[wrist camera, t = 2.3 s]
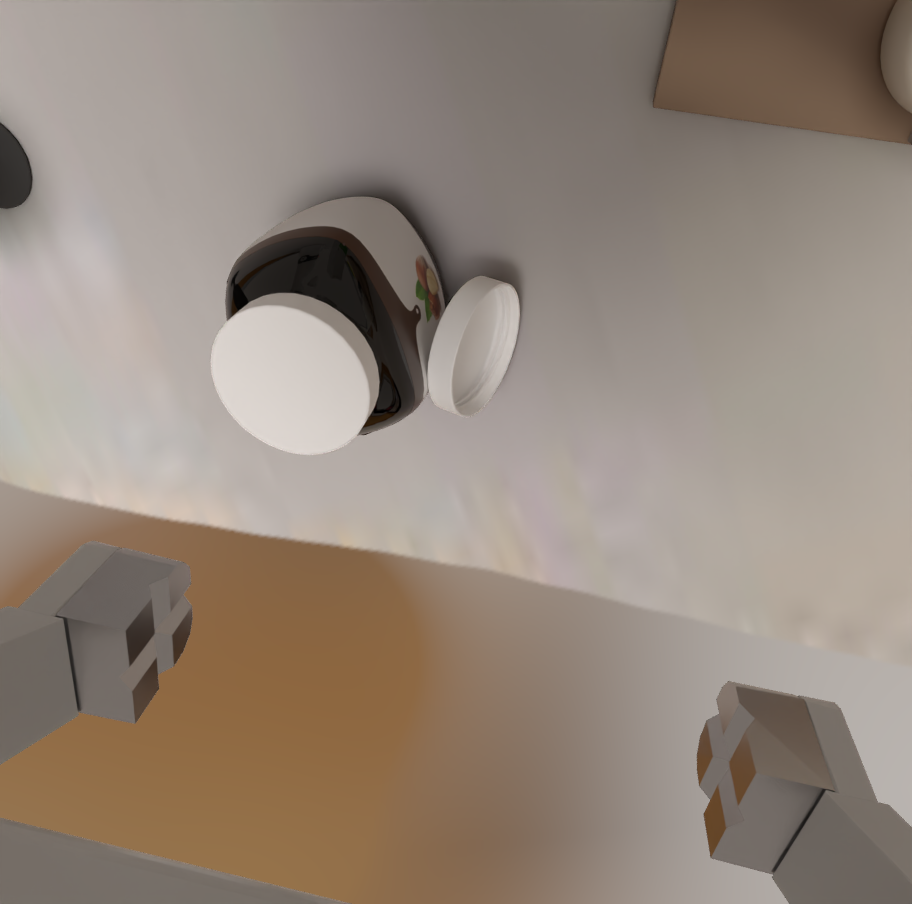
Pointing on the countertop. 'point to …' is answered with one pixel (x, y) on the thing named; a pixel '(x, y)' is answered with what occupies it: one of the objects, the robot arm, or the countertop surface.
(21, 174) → the sundae
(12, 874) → the robot arm
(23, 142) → the countertop surface
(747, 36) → the wooden cutting board
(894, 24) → the lever
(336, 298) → the spread jar
